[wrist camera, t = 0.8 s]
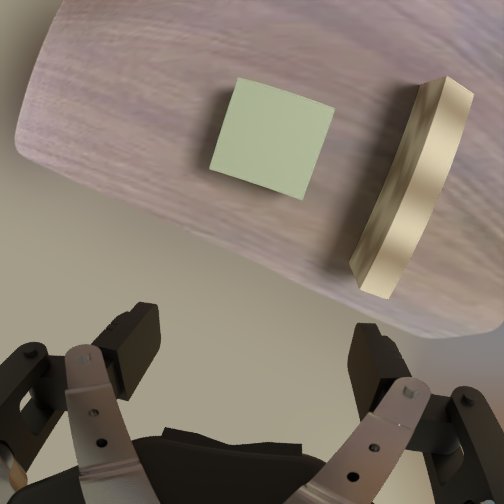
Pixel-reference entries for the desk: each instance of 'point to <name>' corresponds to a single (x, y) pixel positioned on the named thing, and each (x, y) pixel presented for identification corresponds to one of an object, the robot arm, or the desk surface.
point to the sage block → (271, 137)
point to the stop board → (411, 185)
